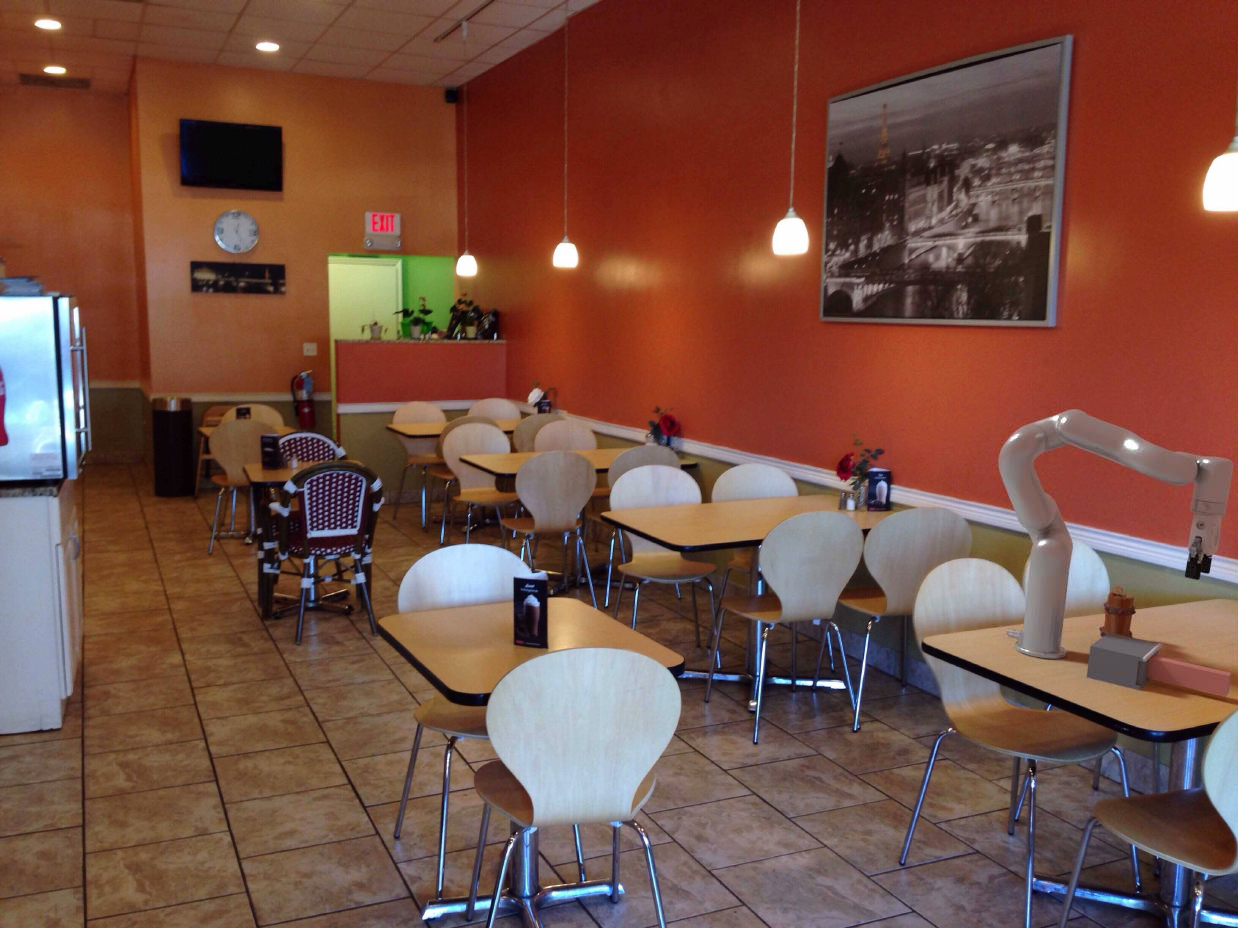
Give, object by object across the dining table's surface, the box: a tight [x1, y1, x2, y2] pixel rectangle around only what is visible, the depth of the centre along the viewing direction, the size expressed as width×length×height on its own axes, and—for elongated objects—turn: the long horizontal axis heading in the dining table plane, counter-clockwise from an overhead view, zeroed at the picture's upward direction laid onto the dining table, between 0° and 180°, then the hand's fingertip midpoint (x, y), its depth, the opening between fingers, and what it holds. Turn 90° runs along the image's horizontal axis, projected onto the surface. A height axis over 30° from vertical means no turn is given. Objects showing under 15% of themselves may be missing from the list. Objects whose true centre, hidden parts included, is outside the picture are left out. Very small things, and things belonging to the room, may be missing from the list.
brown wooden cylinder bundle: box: [1098, 585, 1137, 638], centre depth 283 cm, size 15×8×15 cm, turn 160°
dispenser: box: [1086, 632, 1164, 691], centre depth 257 cm, size 13×16×8 cm
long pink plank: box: [1147, 655, 1232, 697], centre depth 248 cm, size 18×3×5 cm, turn 50°
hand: (1197, 575), depth 255 cm, fingers open, 9 cm apart
